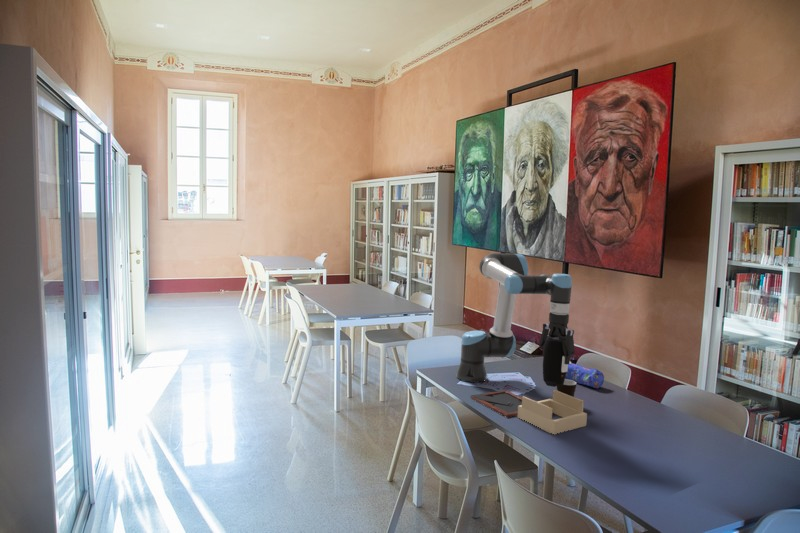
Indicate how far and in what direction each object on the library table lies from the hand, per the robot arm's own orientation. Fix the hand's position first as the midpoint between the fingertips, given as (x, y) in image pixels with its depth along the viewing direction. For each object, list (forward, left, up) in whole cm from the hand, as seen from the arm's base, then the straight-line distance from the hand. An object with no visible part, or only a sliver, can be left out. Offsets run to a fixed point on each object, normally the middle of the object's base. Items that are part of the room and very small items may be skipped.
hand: (554, 368), depth 217 cm
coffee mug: (-12, +23, -22) cm, 34 cm away
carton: (0, 0, -22) cm, 22 cm away
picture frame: (-23, -3, -23) cm, 32 cm away
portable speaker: (0, 0, -7) cm, 7 cm away
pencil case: (-29, +53, -22) cm, 65 cm away
